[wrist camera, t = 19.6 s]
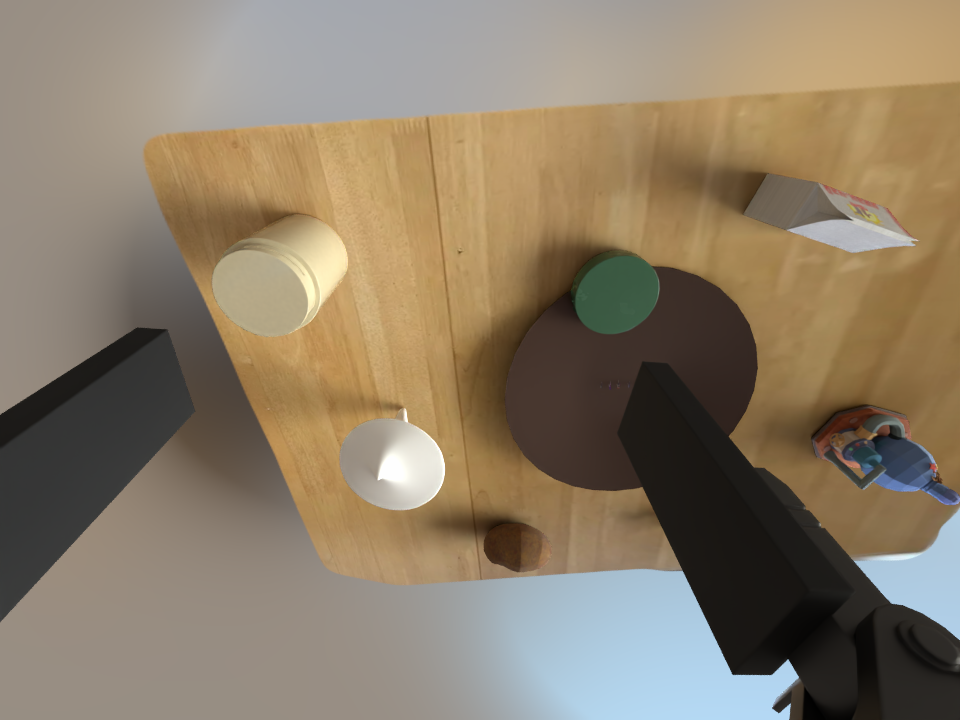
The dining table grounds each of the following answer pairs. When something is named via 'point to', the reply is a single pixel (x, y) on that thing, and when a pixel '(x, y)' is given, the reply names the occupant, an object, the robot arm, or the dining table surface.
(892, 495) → the dining table surface
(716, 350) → the plate
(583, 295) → the jar lid
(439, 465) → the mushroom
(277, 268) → the jam jar
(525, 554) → the potato
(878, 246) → the tea bag
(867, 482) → the model
